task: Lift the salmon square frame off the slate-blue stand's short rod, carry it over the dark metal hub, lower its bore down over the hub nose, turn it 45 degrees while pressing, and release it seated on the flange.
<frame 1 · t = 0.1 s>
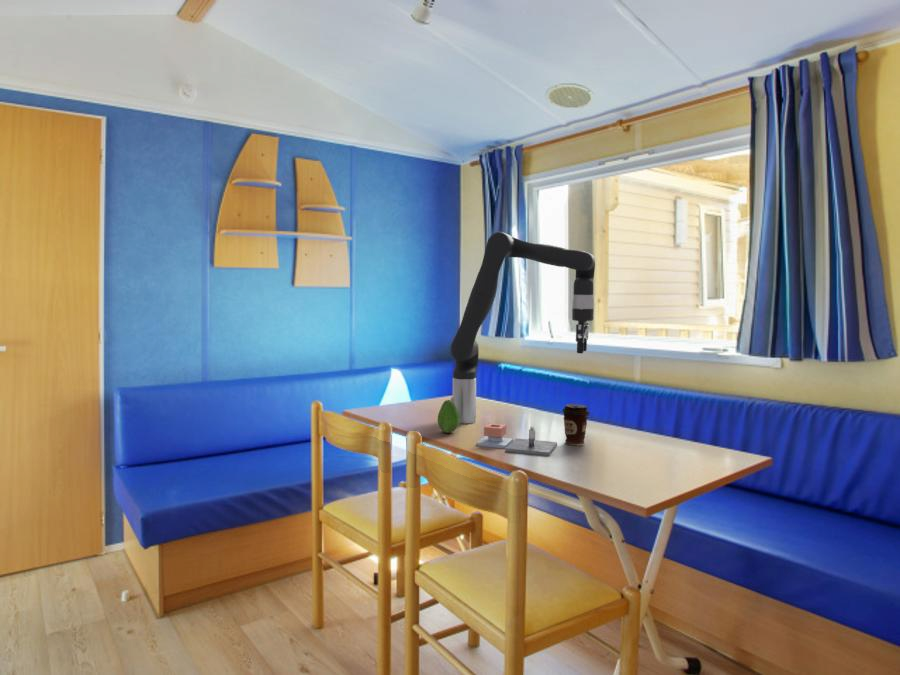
hand: (581, 352, 223), 29 cm above the table, tool pointing down, fingers open, 8 cm apart
stand: (495, 443, 206), on the table
avocado: (448, 433, 222), on the table
salmon square frame: (495, 434, 206), point 3 cm above the table, touching stand
coffee cup: (574, 444, 207), on the table
hub: (531, 448, 200), on the table
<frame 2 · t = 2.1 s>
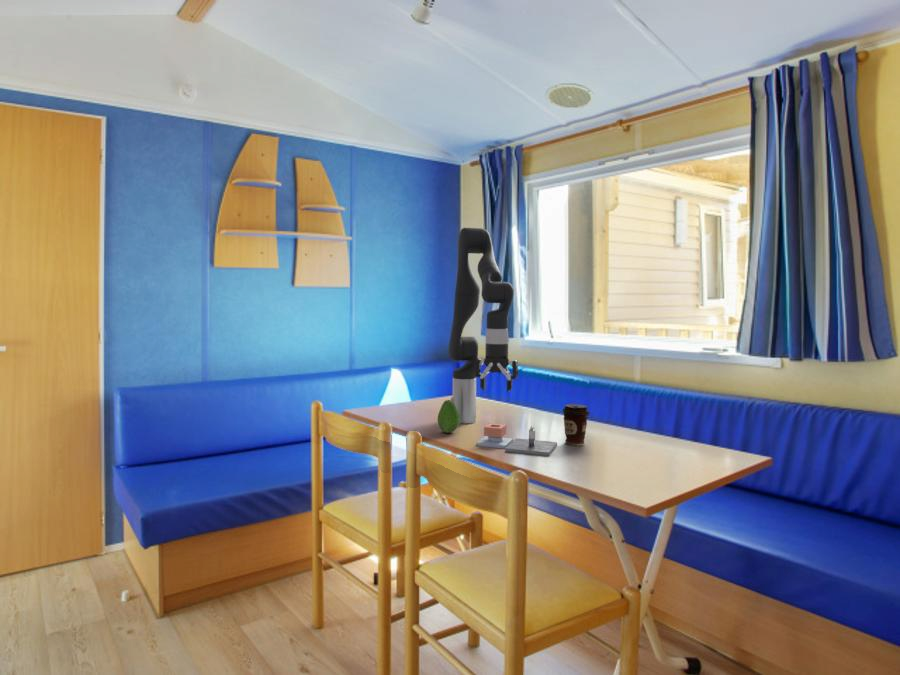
hand: (496, 390, 205), 18 cm above the table, tool pointing down, fingers open, 8 cm apart
nothing on the table moved.
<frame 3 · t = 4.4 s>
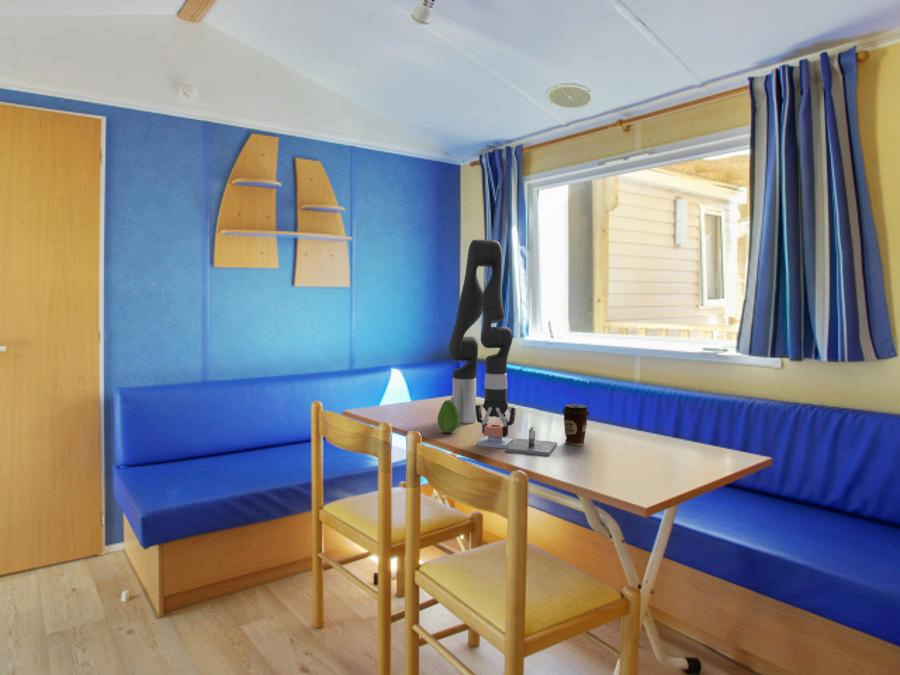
hand: (495, 435, 206), 3 cm above the table, tool pointing down, fingers closed on salmon square frame, 6 cm apart
salmon square frame: (495, 434, 206), point 3 cm above the table, touching gripper, stand
everything else where it was.
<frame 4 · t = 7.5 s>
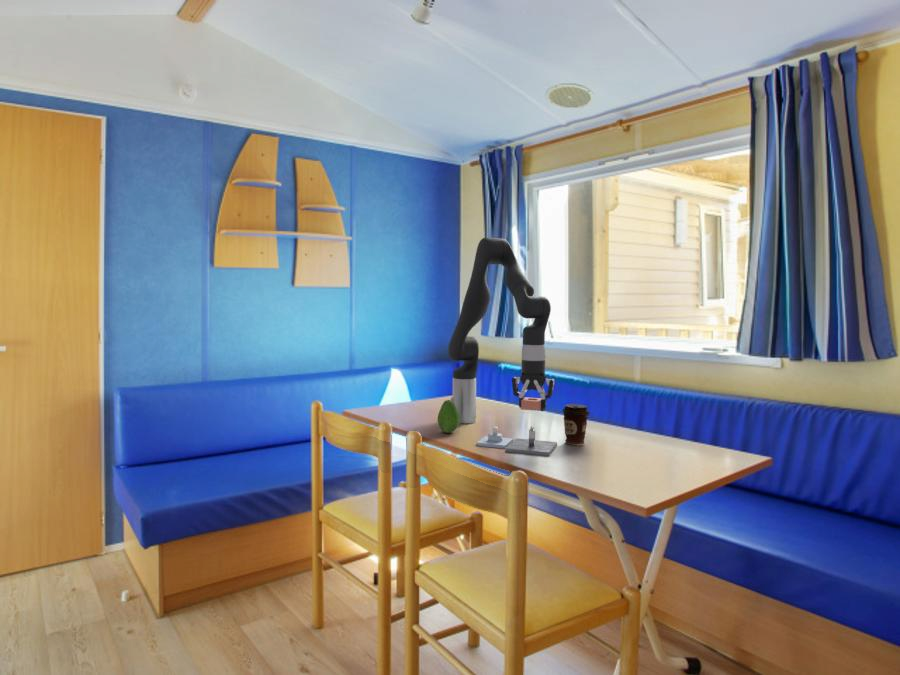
hand: (532, 409, 199), 13 cm above the table, tool pointing down, fingers closed on salmon square frame, 6 cm apart
salmon square frame: (532, 408, 199), point 13 cm above the table, touching gripper
everything else where it was.
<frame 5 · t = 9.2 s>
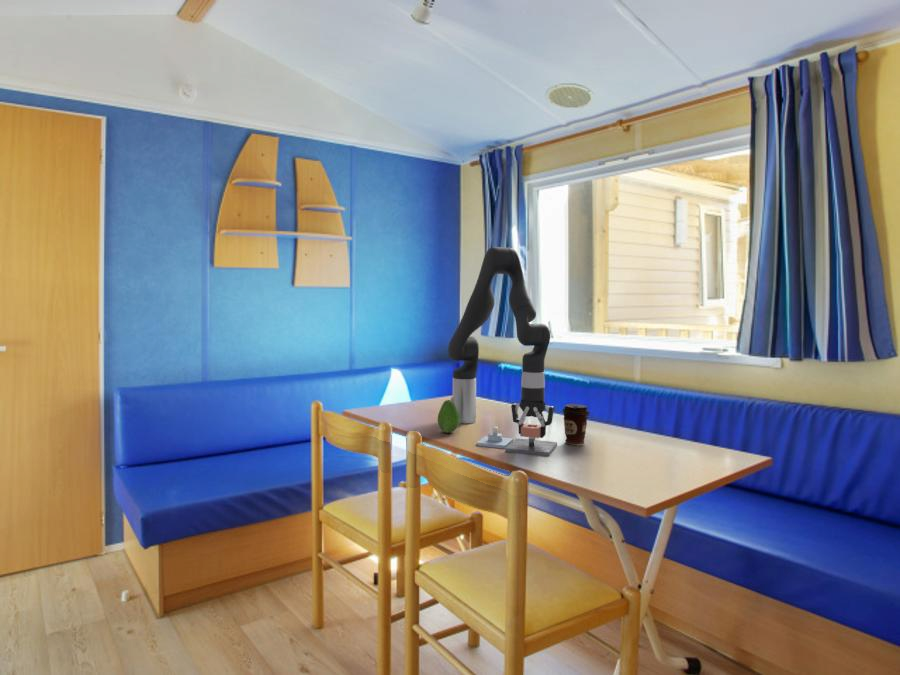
hand: (532, 436, 200), 4 cm above the table, tool pointing down, fingers closed on salmon square frame, 6 cm apart
salmon square frame: (531, 435, 200), point 4 cm above the table, touching gripper
everything else where it was.
when the fingers open (1 cm above the table, at t = 10.7 s): salmon square frame stays where it is, resting on hub.
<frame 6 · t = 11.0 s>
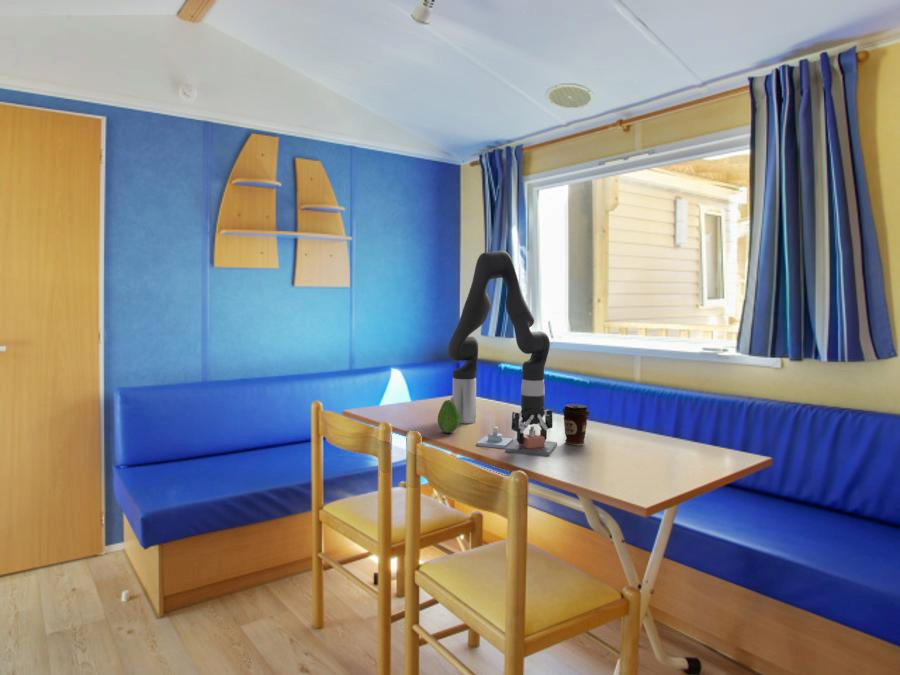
hand: (531, 442, 200), 2 cm above the table, tool pointing down, fingers open, 8 cm apart
salmon square frame: (531, 445, 200), point 1 cm above the table, touching hub
everything else where it was.
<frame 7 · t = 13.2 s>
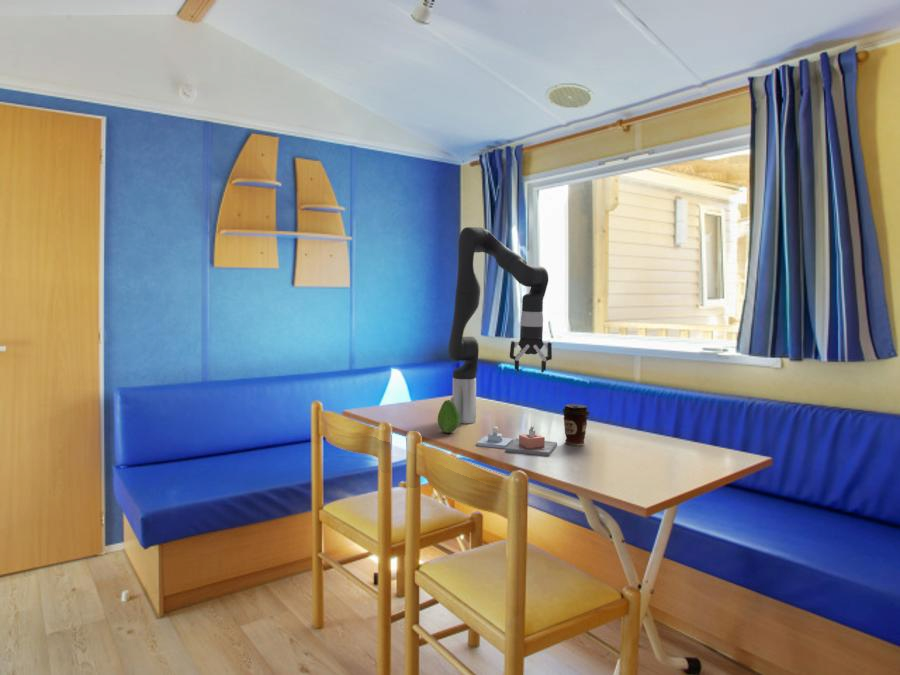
hand: (530, 371, 211), 24 cm above the table, tool pointing down, fingers open, 8 cm apart
nothing on the table moved.
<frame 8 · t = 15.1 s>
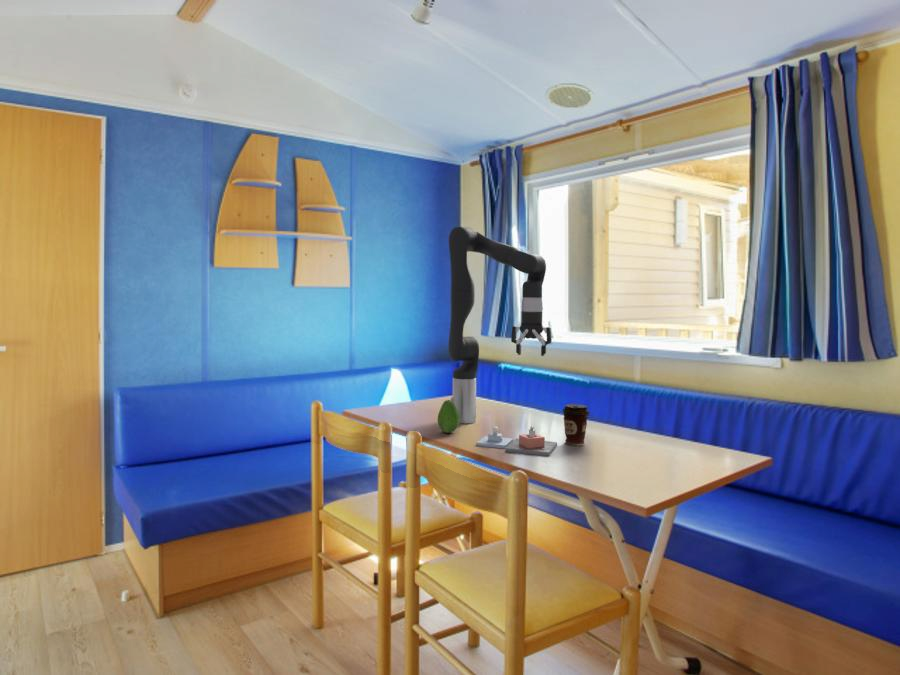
hand: (531, 355, 221), 28 cm above the table, tool pointing down, fingers open, 8 cm apart
nothing on the table moved.
at the end: salmon square frame 0.1 cm off-centre on the hub, point 1.2 cm above the hub's base; the gripper is holding nothing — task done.
